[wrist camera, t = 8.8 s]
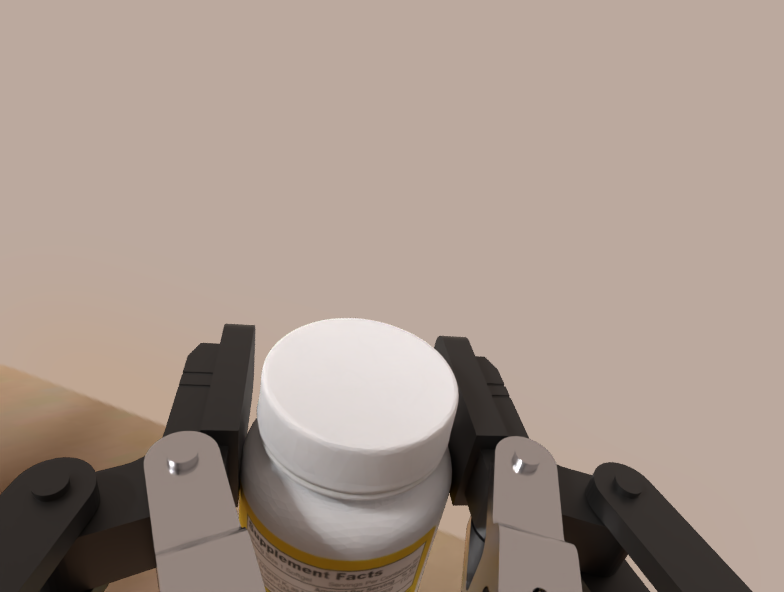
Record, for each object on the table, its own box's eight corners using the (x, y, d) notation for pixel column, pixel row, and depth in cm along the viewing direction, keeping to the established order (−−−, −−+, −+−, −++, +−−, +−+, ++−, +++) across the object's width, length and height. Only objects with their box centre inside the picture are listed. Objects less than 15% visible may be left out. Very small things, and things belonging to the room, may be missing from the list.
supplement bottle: (306, 501, 18) (333, 284, 13) (433, 579, 16) (510, 361, 12) (196, 630, 14) (185, 383, 10) (349, 747, 12) (418, 516, 8)
